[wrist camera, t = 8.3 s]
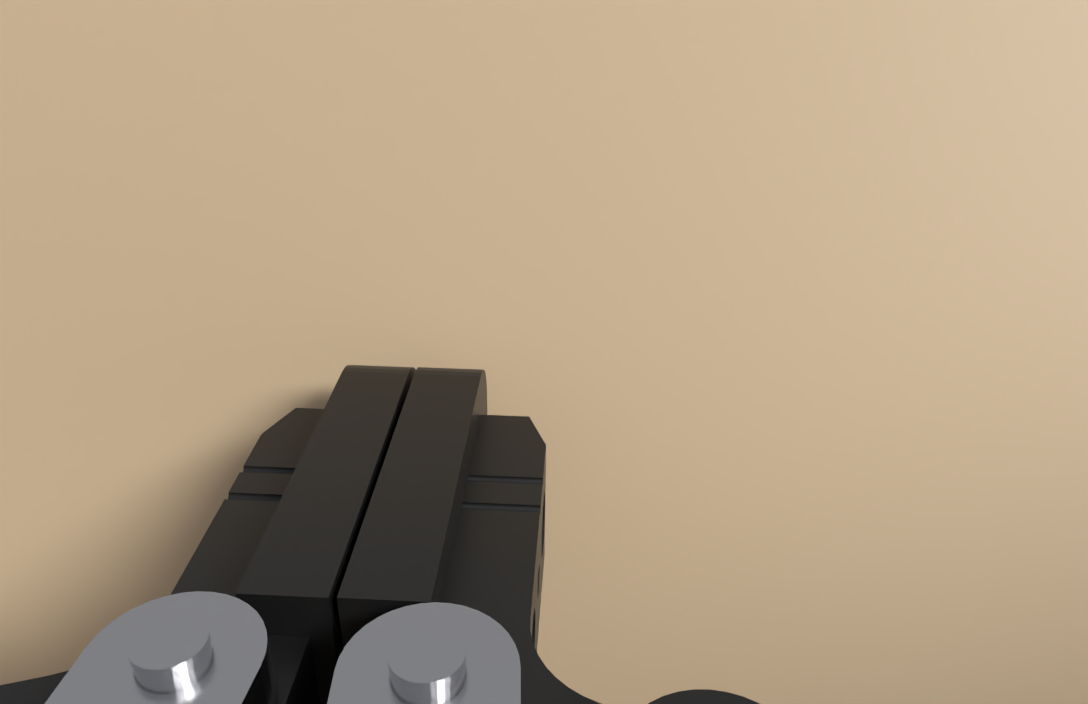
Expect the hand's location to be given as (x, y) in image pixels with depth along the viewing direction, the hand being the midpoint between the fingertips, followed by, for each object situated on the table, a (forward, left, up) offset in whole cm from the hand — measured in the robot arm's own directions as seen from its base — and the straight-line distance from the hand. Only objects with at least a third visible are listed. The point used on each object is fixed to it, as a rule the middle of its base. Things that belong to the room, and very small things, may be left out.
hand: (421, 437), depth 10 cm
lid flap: (0, 0, 0) cm, 0 cm away
